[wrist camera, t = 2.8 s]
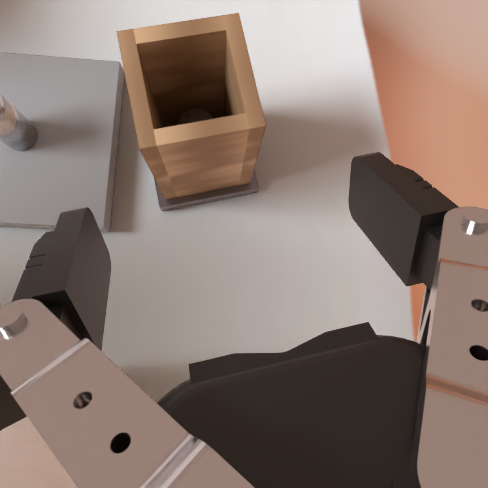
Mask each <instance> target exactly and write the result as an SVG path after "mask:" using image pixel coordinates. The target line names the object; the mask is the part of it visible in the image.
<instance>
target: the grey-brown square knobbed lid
mask: <svg viewBox="0 0 488 488" xmlns="http://www.w3.org/2000/svg"><path fill="white" fill-rule="evenodd" d="M219 118H221V117H219ZM210 119H216V118H213V117H212V116H211V115H210V114H209V113H208V112H207V111H205V110H203V109H198V108H195V109H190V110H188V111H186V112H184V113H183V114H182V116H181V117H180V119H179V123H178V125H182V124H187V123H193V122H199V121H204V120H210ZM173 126H176V125H173ZM168 127H170V126H168ZM163 128H165V127H163ZM154 180H155V178H154ZM155 185H156V190H157V196H158V201H159V206H160V209H161V210H162V211H164V210H169V209H174V208H180V207H185V206H190V205H195V204H200V203H205V202H210V201H215V200H220V199H225V198H230V197H235V196H240V195H245V194H250V193H255V192H257V191H258V184H257V179H256V175H255V171H253V174H252V178H251V181H250V183H247V184H242V185H237V186H231V187H226V188H221V189H216V190H211V191H206V192H201V193H196V194H190V195H185V196H180V197H175V198H170V199H165V197H164V195H163V193H162V191H161V189H160V187H159V186H158V184H157V182H156V180H155Z"/></svg>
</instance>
